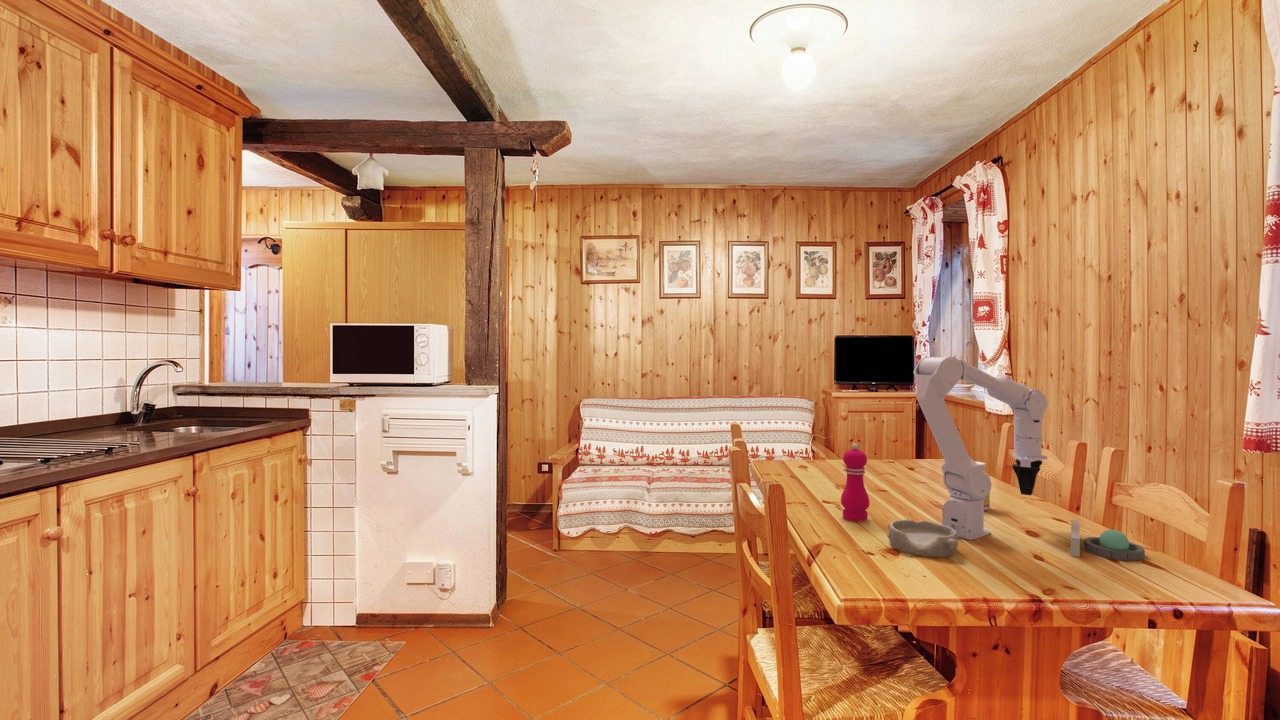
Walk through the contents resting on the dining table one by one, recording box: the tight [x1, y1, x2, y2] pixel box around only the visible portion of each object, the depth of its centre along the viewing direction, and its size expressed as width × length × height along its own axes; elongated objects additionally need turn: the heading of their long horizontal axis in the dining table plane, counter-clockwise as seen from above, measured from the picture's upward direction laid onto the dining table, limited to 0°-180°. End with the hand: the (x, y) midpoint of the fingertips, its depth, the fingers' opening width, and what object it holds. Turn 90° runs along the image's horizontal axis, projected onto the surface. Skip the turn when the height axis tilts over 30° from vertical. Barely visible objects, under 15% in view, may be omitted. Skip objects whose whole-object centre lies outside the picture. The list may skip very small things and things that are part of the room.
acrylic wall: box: [1070, 519, 1081, 558], centre depth 131 cm, size 16×2×4 cm, turn 143°
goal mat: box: [1083, 536, 1146, 562], centre depth 126 cm, size 10×10×2 cm
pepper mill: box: [840, 443, 870, 522], centre depth 154 cm, size 7×7×20 cm
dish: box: [887, 519, 959, 558], centre depth 131 cm, size 14×14×5 cm
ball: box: [1099, 529, 1130, 551], centre depth 125 cm, size 5×5×5 cm
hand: (1027, 491), depth 143 cm, fingers open, 7 cm apart
